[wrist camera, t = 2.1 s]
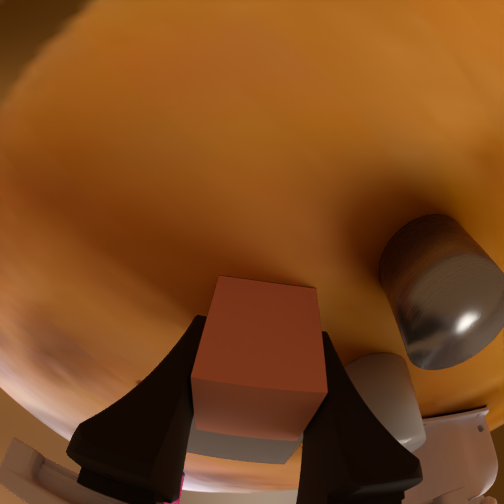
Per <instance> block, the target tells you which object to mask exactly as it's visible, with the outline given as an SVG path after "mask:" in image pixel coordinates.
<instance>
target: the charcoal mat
mask: <svg viewBox="0 0 504 504" xmlns="http://www.w3.org/2000/svg"><path fill="white" fill-rule="evenodd" d="M302 440H303V433H302V434H301V436H300V437H299V439H298V440H297V441H287V440H272V439H260V438H251V437H242V436H234V435H227V434H220V433H214V432H208V431H203V430H197V429H196V425H195V416H193V420H192V424H191V429H190V434H189V440H188V445H187V451H186V452H189V453H194V454H199V455H205V456H211V457H217V458H223V459H231V460H238V461H247V462H257V463H270V464H285V463H286V462H287V460H288V459H289V458H290V456H291V455H292V454H293V453H294V451H295V450H296V448H297V447H298V446H299V444H300V443H301V442H302Z"/></svg>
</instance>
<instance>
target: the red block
mask: <svg viewBox="0 0 504 504" xmlns="http://www.w3.org/2000/svg"><path fill="white" fill-rule="evenodd" d="M191 385H192V396H193V406H194V416H195V425H196V429H197V430H203V431H208V432H214V433H220V434H227V435H234V436H242V437H251V438H260V439H272V440H287V441H297V440H298V439H299V437H300V436H301V434H302V433H303V431H304V430H305V428H306V427H307V425H308V424H309V422H310V421H311V419H312V417H313V416H314V414H315V413H316V411H317V410H318V408H319V406H320V405H321V403H322V401H323V400H324V398H325V396H326V395H327V393H328V389H327V378H326V368H325V358H324V349H323V340H322V331H321V323H320V315H319V307H318V299H317V292H316V288H308V287H300V286H293V285H285V284H277V283H270V282H262V281H255V280H248V279H241V278H234V277H227V276H220V275H219V278H218V281H217V284H216V288H215V291H214V295H213V298H212V302H211V305H210V309H209V312H208V316H207V319H206V323H205V327H204V330H203V334H202V337H201V341H200V345H199V348H198V352H197V355H196V359H195V363H194V367H193V370H192V374H191Z"/></svg>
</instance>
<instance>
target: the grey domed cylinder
mask: <svg viewBox="0 0 504 504" xmlns="http://www.w3.org/2000/svg"><path fill="white" fill-rule="evenodd" d="M344 368H345V370H346V372H347V374H348V376H349V378H350V379H351V381H352V383H353V384H354V386H355V388H356V389H357V391H358V393H359V394H360V396H361V397H362V399H363V400H364V402H365V403H366V404H367V406H368V407H369V409H370V410H371V411H372V413H373V414H374V415H375V416H376V418H377V419H378V420H379V421H380V422H381V424H382V425H383V426H384V427H385V428H386V429H387V430H388V431H389V432H390V434H391V435H392V436H393V437H394V438H395V439H396V440H397V441H398V442H399V443H400V444H401V445H403V446H404V447H405V448H406V449H407V450H409V451H410V452H413V451H415V450H416V449H418V448H419V447H420V446H422V445H423V444H424V442H425V441H426V434H425V430H424V425H423V421H422V417H421V413H420V409H419V405H418V402H417V398H416V394H415V391H414V387H413V384H412V380H411V377H410V374H409V370H408V367H407V364H406V361H405V360H404V358H402V357H401V356H399V355H397V354H392V353H377V354H372V355H368V356H365V357H362V358H359V359H357V360H355V361H353V362H351V363H349V364H348V365H346V366H345V367H344Z"/></svg>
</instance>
